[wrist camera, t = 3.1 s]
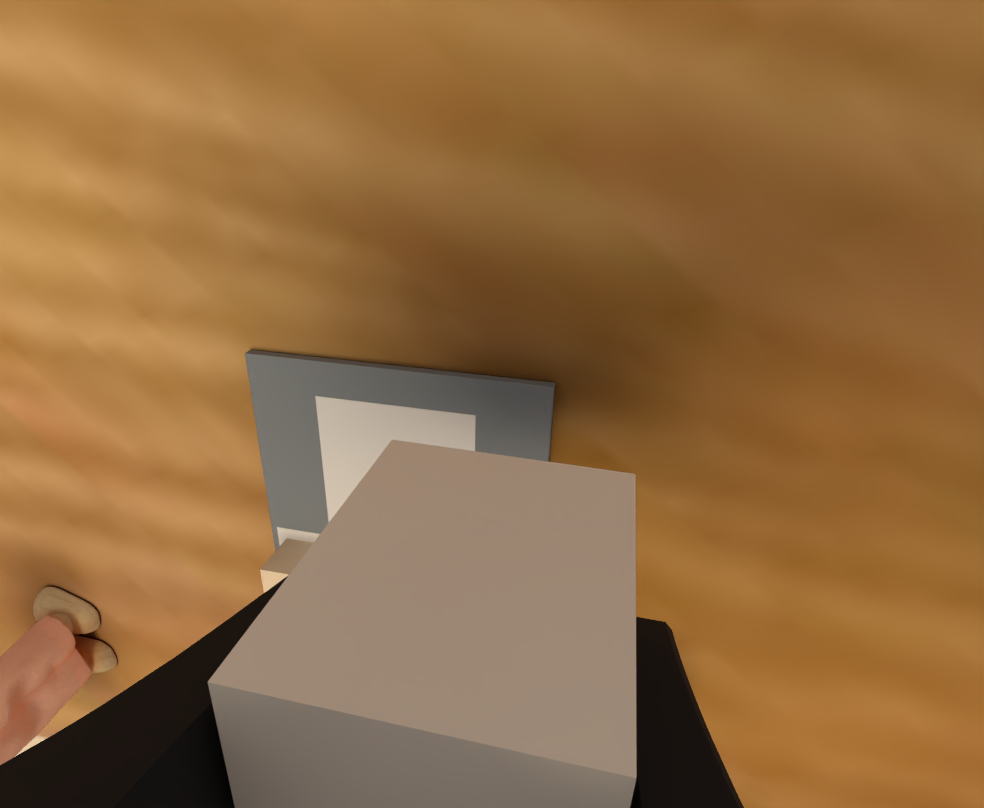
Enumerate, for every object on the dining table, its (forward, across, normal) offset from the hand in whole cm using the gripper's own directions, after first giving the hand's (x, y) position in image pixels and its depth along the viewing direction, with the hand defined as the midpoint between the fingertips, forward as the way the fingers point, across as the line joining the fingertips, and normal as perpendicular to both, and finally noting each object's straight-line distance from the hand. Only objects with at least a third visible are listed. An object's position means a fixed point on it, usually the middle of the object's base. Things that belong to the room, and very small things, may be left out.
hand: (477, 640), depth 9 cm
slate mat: (+9, +4, +6) cm, 12 cm away
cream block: (+2, 0, 0) cm, 2 cm away
